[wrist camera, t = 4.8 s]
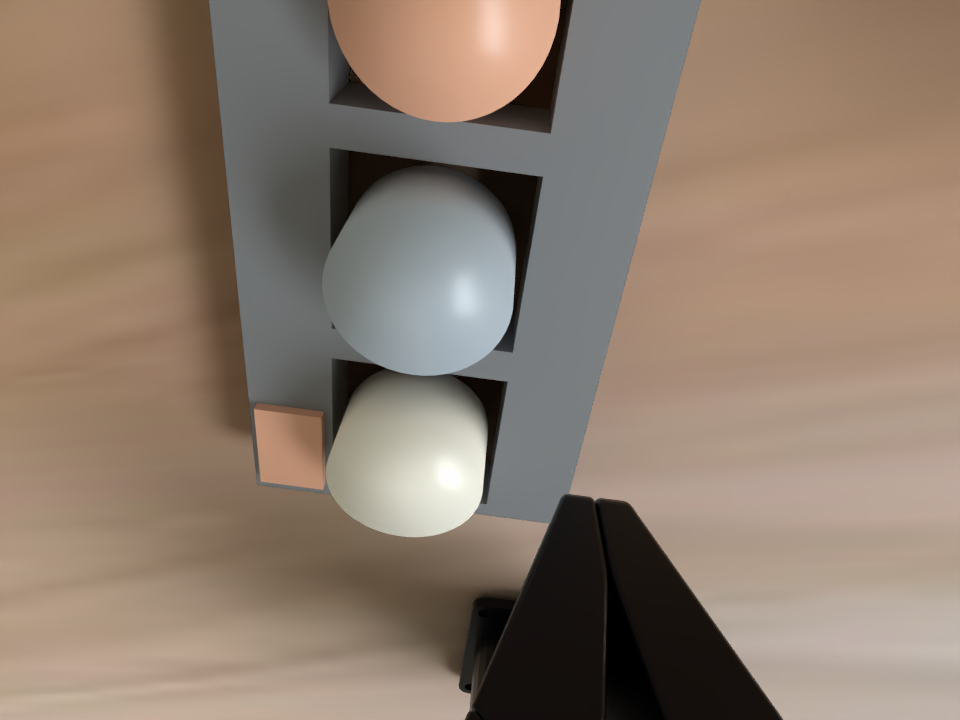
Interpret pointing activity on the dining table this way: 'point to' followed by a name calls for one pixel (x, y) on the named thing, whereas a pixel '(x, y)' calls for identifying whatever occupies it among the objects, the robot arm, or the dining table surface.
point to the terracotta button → (445, 51)
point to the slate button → (423, 272)
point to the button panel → (474, 143)
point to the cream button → (410, 454)
